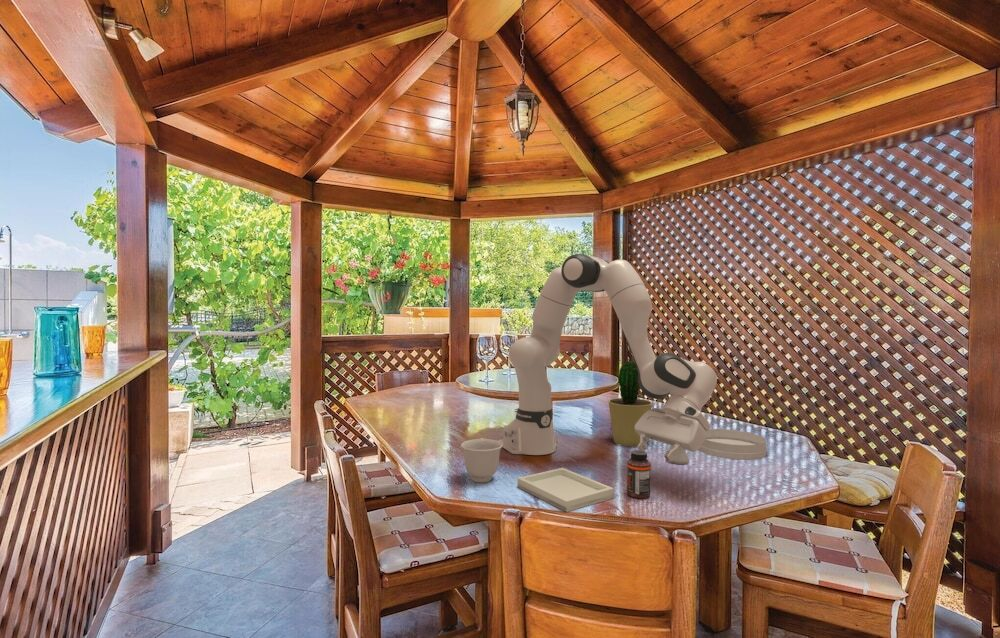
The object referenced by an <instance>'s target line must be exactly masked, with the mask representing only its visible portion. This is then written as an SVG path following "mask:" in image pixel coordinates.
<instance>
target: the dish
mask: <svg viewBox="0 0 1000 638" xmlns="http://www.w3.org/2000/svg"><path fill="white" fill-rule="evenodd" d="M706 433H707V434H706V438H705V440H704V442H703V444H702V445H701V447H700V449H699V450H698V451H699V452H701V453H702V454H705V453H706V454H705V455H708V456H712V457H715V458H723V459H728V460H737V461H738V460H741V461H742V460H743V461H749V460H750V461H751V460H754V461H755V460H760V459H763V458H766V457H767V449H768V448H767V439H766V438H765V437H763V436H761V435H759V434H756V433H753V432H747V431H742V430H738V429H737V430H736V429H725V428H710V429H709V431H707V432H706Z"/></svg>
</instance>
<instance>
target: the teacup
mask: <svg viewBox="0 0 1000 638" xmlns="http://www.w3.org/2000/svg"><path fill="white" fill-rule="evenodd" d="M502 446H503V444H502V443H501V442H499V441H498V440H496V439H489V438H484V437H481V438H473V439H468V440H465V441H463V442H461V443H460V447H461V449H462V451H463V452H462V453H463V458H464V459H463V460H464V467H465V470H466V473H467V474H468V475H470V476H471V481H473V482H475V483H488V482H491V480H492V479H493V478H492V476H493V475H494V474H496V472H497V471H498V469H499V462H500V453H501V449H502V448H503V447H502Z"/></svg>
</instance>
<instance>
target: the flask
mask: <svg viewBox="0 0 1000 638" xmlns="http://www.w3.org/2000/svg"><path fill="white" fill-rule="evenodd" d="M674 447H675V446H672V445H669V448H668V451H670V450H672V449H673V448H674ZM686 451H687V450H685V449H684V450H683V451H682V452H681V453H680V454H678V455H676V456H675V457H674V458H673V460H672V461H670V460H667V459H666V458H665V459H664V461H665V462H667V463H669V464H677V465H687V464H689V462H690V460H689V458H688V454H687V452H686Z"/></svg>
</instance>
